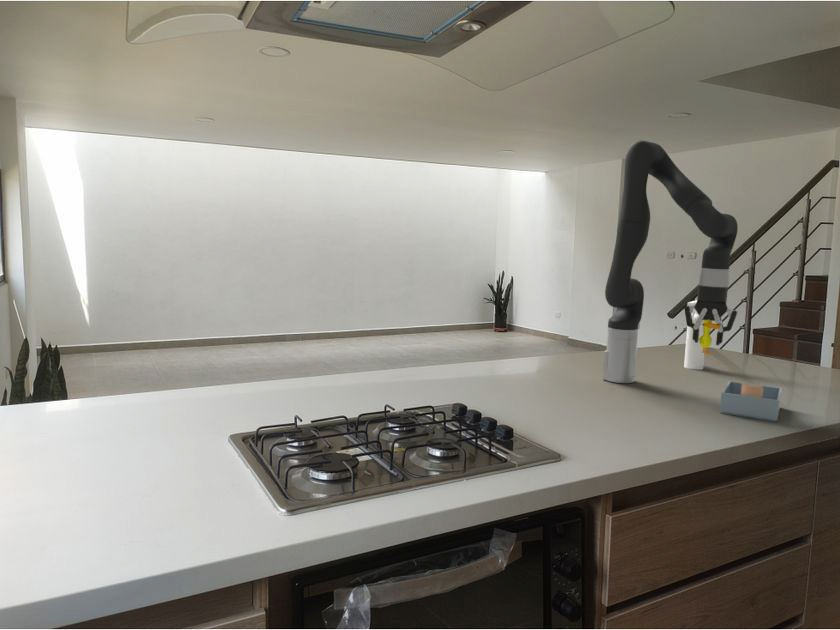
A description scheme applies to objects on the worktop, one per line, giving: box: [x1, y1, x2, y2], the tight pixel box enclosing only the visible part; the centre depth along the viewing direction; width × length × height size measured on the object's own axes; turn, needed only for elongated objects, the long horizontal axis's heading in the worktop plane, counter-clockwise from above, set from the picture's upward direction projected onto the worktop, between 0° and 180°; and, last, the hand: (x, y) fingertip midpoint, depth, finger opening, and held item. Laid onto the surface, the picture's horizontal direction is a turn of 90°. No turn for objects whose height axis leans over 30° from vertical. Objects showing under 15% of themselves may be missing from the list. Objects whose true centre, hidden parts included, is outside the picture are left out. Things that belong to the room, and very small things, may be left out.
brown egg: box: [741, 382, 764, 398], centre depth 155 cm, size 5×5×7 cm
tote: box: [719, 380, 783, 423], centre depth 158 cm, size 13×17×6 cm
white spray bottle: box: [683, 299, 705, 370], centre depth 213 cm, size 7×12×25 cm, turn 125°
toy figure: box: [699, 320, 721, 355], centre depth 168 cm, size 7×4×12 cm, turn 24°
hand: (707, 343), depth 168 cm, fingers closed on toy figure, 5 cm apart
